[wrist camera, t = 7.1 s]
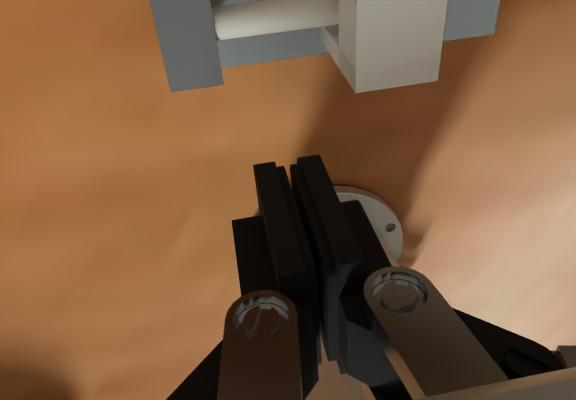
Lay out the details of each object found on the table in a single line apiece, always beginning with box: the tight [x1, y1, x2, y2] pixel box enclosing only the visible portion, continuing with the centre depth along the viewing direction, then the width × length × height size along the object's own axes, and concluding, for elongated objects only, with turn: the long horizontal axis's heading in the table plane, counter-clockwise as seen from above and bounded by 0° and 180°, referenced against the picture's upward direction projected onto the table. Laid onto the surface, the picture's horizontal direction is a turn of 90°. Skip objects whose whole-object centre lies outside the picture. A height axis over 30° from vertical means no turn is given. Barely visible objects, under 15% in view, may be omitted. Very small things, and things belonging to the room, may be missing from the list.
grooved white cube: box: [320, 0, 448, 93], centre depth 22 cm, size 4×5×6 cm
